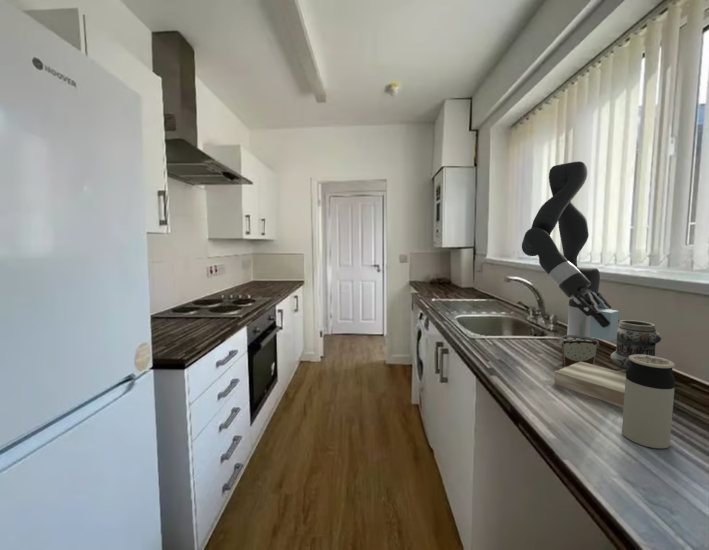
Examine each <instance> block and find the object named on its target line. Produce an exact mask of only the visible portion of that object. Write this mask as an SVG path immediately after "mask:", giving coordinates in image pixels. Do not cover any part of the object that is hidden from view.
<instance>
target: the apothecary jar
mask: <svg viewBox="0 0 709 550" xmlns="http://www.w3.org/2000/svg"><path fill="white" fill-rule="evenodd" d="M661 341H662V335H661V334H660V333H659V332H658V331H657V329H656V326H655V324H654V323H651V322H647V321H643V320H642V321H641V320H634V319H633V320H632V319H622V320H619V323H618V331H617V338H616V345H615V347H616V348H615V351H613V352H612V353H611V354H610V360H611V361H612V363H613V364H614V365H616V366H618V367H619V368H621V369H620V370H617V371H618V372H622V373H626V370H627V368H628V367H629V366H630V365H631V363H630V359H629V356H630V355H635V354H641V355H650V356H656V345H657V344H658V343H660V342H661Z"/></svg>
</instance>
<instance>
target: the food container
mask: <svg viewBox="0 0 709 550" xmlns="http://www.w3.org/2000/svg"><path fill="white" fill-rule="evenodd" d="M559 344H560V345H561V352H562V353H561V355H562V357H561V359H562V366H563V368H565V367H567V366H570V365H573V364H575V363H578V362H580V361H581V362H585V363H589V364H592V365H595V360H596V355H597V349H598V347H599V346H600V341H599V339H598V338H591V337H586V336H579V335H567V334H565V335H562V336H561V337H560V339H559Z"/></svg>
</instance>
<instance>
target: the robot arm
mask: <svg viewBox="0 0 709 550" xmlns="http://www.w3.org/2000/svg"><path fill="white" fill-rule="evenodd" d="M587 178H588V167H587V165H586V163H584V162H583V161H573V162H566V163H560V164H557V165H553V166H552V167H550V169H549V172H548V183H549V188H550V191H551V195H552V196H551V197H550V198H549V199H548V200H546V201H545V202H544V203H543V204H542V205H541V206H540V208H539V209H538V211H537V213H536V215H535V217H534V219H533V220H532V224H531V227H530V228H529V229H528V230H527V231H526V232H525V233H524V236H523V239H522V242H521V243H522V244H521V250H522V252H523V254H525V255H527V256H529V257H536V256H538V259H539V260H538V262H539V265H540V266H541V268H542V269H543V270H544V272H546V273H547V275H549V277H550V278H551V281H553V283H554V284H555V285H556V287H558V288H559V289H560V291H562V292H563V294H564V295H566V297H567V298H570V299H568V310H567V311H568V314H567V315H568V316H567V331H566V335H579V336H586V337H589V336H590V320H591V317H594V318H595V320H596V321H597V322H598V323H599V324H600V325H601V326H602V327H603V328H604V327H607V326H608V325H610V322H609V321H608V320H607V319H606V318H605V316H604V315H603V314H602V313H600V311H599V309H598V308H603V309H610V310H611V308H612V306H611V305H610V304H609V302H608V301H607V299H606V298H605V297H603V295H602V293H600V291H599V290H600V282H601V274H600V271H599V269H598V268H597V267H591V266H589V267H587V266H578V256H579V253H580V252H581V251H582V249H583V247H584V246H585V245H586V243H587V242H588V238H589V226H588V222H587V221H588V220H587V219H586V216H585V215H584V214H583V212H582V211H580V209H578V207H576V206H575V204H574V203H573V202H572V200H573V199H574V198H575V197H576V195H577V194H578V192H579V191H580V190H581V189H582V188H583V186H584V184H585V183H586V181H587ZM557 224H558V231H559V237H560V241H561V246H562V253H561V252H560V250H559V248H558V247H557V245H556V243H555V241H554V240H553V238H552V236H550V235H551V234H552V232H553V231H554V228H555V227H556V225H557ZM618 323H620V320H619V319H618ZM591 338H594V337H591ZM594 339H595V338H594Z"/></svg>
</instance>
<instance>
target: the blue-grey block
mask: <svg viewBox="0 0 709 550" xmlns="http://www.w3.org/2000/svg"><path fill="white" fill-rule="evenodd" d="M598 309H599V311H600V313H602V314H603V315H604V316H605V318H606V319H607V320H608V321H609V322H610V325H608V326H607V327H604V328H603V327H602V326H601V325H600V324H599V323H598V322H597V321H596V320H595V318H594V317H591V320H590V336H589V337H594V339H598V340H605V341H612V340H616V339H617V331H618V326H619V322H618V320H619V315H620V313H619V312H620V311H619V310H615V309H611V308H610V309H603V308H598Z"/></svg>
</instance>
